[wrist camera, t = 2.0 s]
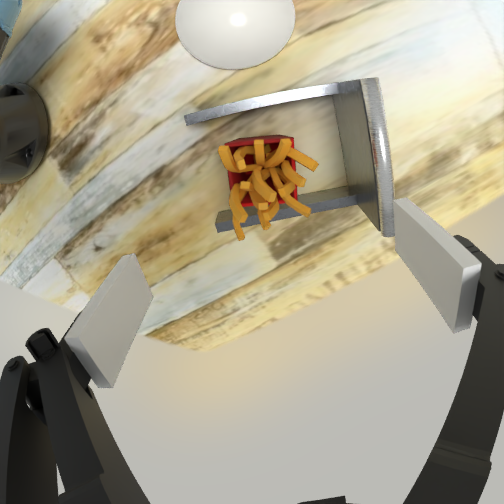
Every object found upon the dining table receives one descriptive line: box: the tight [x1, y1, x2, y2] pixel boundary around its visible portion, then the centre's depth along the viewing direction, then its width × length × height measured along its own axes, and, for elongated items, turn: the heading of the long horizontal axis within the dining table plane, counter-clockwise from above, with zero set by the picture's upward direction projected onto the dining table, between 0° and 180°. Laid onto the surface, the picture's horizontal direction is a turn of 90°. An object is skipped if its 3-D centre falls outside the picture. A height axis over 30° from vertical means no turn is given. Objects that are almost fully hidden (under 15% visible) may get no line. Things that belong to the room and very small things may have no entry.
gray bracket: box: [184, 77, 395, 237], centre depth 32 cm, size 19×14×14 cm
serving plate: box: [175, 0, 295, 70], centre depth 30 cm, size 14×14×1 cm
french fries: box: [218, 135, 319, 241], centre depth 32 cm, size 9×8×15 cm
